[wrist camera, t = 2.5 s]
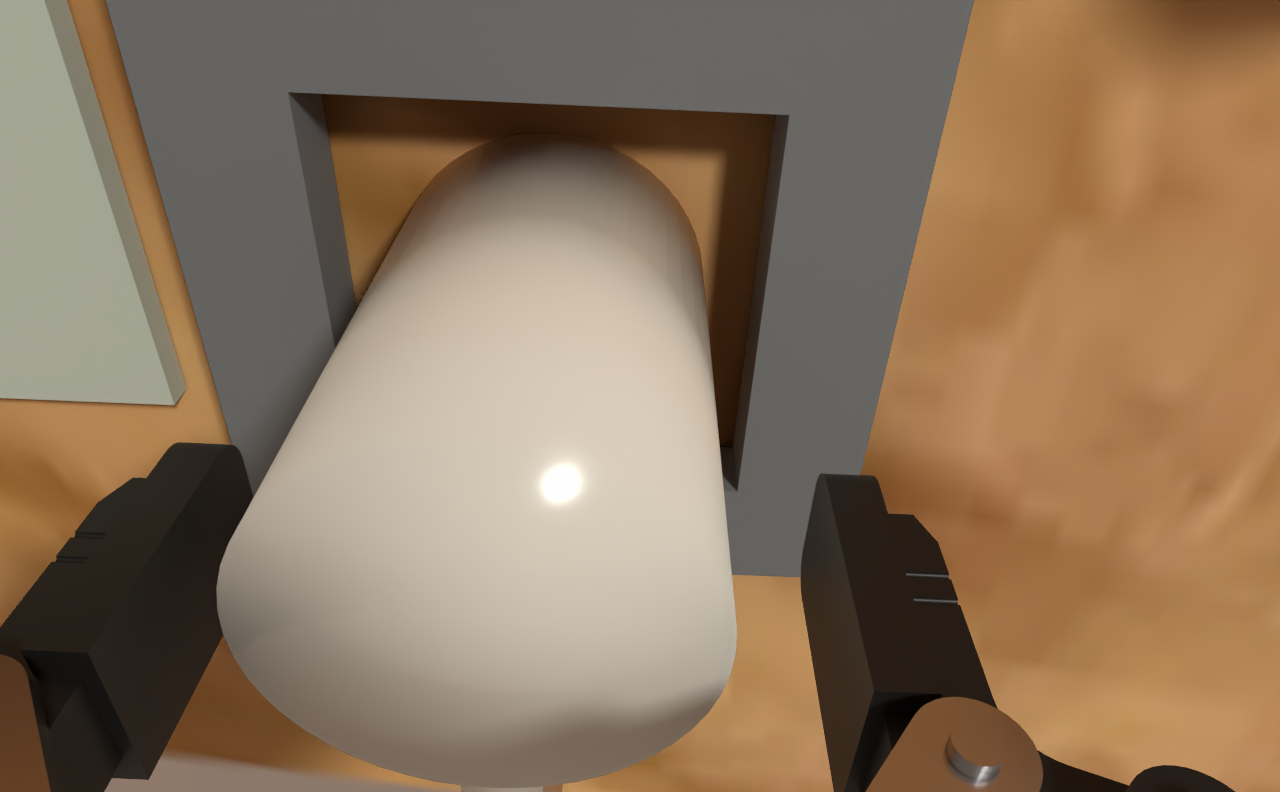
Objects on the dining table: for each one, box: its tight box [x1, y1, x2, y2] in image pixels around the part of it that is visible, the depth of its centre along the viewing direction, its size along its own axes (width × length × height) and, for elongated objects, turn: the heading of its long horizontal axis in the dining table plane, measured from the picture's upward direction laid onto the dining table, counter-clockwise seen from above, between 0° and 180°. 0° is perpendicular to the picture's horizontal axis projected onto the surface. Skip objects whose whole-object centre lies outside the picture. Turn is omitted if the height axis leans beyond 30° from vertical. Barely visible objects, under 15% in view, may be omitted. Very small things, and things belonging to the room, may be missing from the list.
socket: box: [106, 0, 974, 577], centre depth 17 cm, size 13×13×2 cm
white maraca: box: [216, 133, 737, 792], centre depth 16 cm, size 12×6×9 cm, turn 178°
